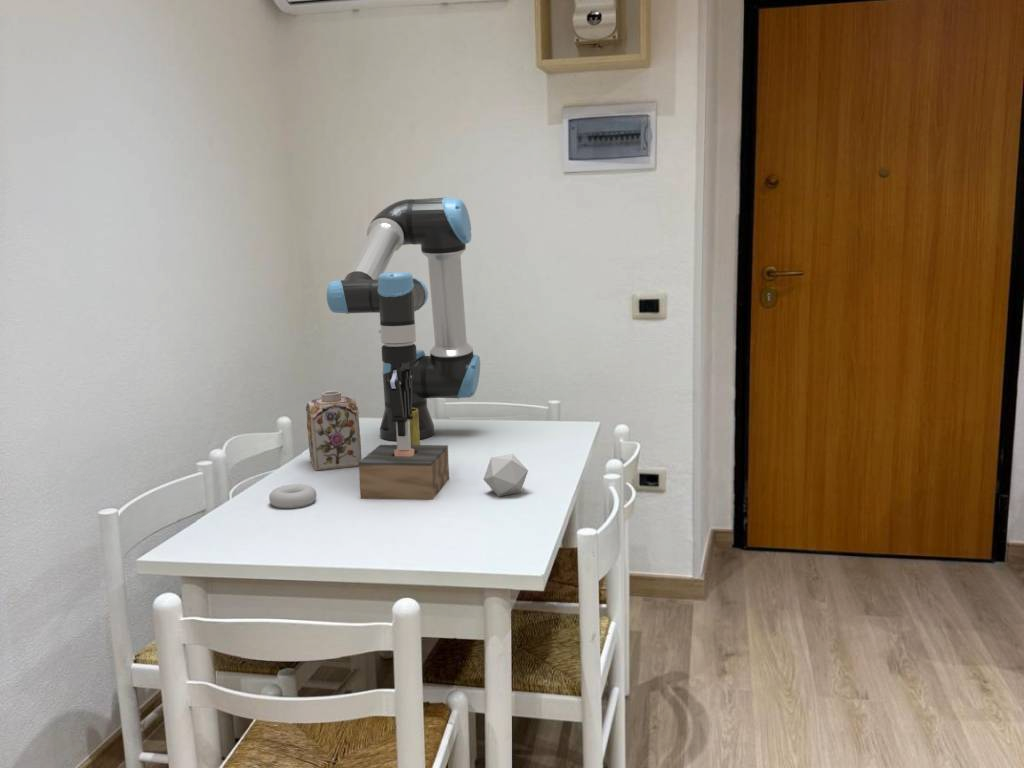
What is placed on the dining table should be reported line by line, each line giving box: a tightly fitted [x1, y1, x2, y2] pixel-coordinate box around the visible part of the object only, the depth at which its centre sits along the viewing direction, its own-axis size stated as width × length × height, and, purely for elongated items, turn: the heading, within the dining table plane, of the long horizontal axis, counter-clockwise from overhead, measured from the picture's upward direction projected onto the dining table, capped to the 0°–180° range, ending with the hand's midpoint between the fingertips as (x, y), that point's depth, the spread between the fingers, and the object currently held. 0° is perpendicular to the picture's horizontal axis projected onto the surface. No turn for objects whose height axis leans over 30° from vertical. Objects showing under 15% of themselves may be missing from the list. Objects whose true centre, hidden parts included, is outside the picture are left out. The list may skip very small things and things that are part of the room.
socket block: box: [358, 444, 450, 500], centre depth 214 cm, size 16×16×8 cm
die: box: [483, 453, 529, 497], centre depth 208 cm, size 8×9×10 cm
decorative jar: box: [305, 390, 362, 472], centre depth 237 cm, size 12×12×18 cm
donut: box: [268, 483, 317, 509], centre depth 206 cm, size 10×4×10 cm
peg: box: [394, 448, 415, 456], centre depth 214 cm, size 4×4×8 cm
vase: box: [408, 408, 421, 445], centre depth 231 cm, size 6×6×14 cm
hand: (404, 449), depth 213 cm, fingers closed
